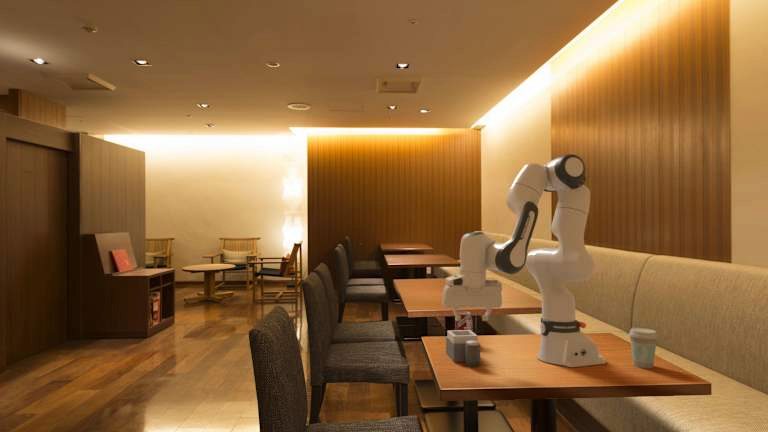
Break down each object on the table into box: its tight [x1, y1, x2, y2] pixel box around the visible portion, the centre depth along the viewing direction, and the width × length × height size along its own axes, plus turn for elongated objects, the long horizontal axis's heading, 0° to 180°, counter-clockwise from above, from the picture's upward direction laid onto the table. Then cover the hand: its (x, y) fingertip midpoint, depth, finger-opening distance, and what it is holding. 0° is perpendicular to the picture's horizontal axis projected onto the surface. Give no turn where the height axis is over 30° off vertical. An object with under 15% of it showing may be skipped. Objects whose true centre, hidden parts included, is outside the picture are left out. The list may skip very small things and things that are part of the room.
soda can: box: [454, 310, 474, 332], centre depth 187 cm, size 7×7×12 cm
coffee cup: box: [628, 327, 659, 369], centre depth 158 cm, size 8×8×12 cm
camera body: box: [445, 329, 478, 363], centre depth 168 cm, size 9×11×8 cm
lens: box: [464, 340, 481, 368], centre depth 159 cm, size 5×5×8 cm
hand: (471, 320), depth 159 cm, fingers open, 8 cm apart
